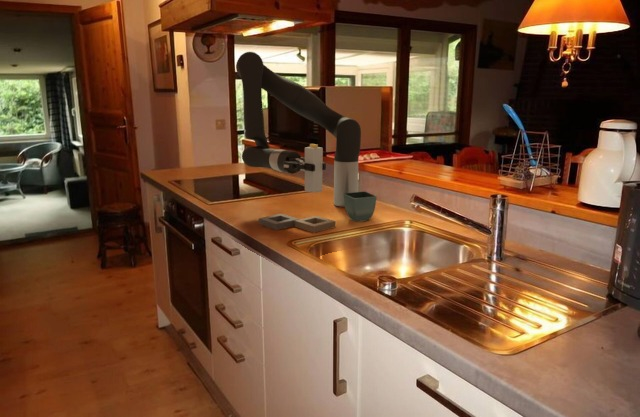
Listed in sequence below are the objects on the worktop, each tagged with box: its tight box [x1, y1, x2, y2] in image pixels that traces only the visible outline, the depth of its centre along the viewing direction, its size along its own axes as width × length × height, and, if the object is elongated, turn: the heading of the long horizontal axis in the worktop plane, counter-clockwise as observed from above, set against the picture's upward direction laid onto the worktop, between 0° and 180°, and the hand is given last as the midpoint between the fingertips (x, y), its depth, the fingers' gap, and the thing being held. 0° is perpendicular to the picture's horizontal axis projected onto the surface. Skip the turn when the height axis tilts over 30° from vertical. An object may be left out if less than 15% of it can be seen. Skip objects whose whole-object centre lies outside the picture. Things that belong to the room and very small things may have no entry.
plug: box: [304, 143, 324, 194], centre depth 154 cm, size 4×4×15 cm
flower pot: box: [343, 190, 378, 223], centre depth 166 cm, size 9×9×9 cm
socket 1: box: [258, 213, 300, 231], centre depth 161 cm, size 10×10×2 cm
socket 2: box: [293, 215, 337, 233], centre depth 158 cm, size 10×10×2 cm
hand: (319, 167), depth 152 cm, fingers closed on plug, 4 cm apart
